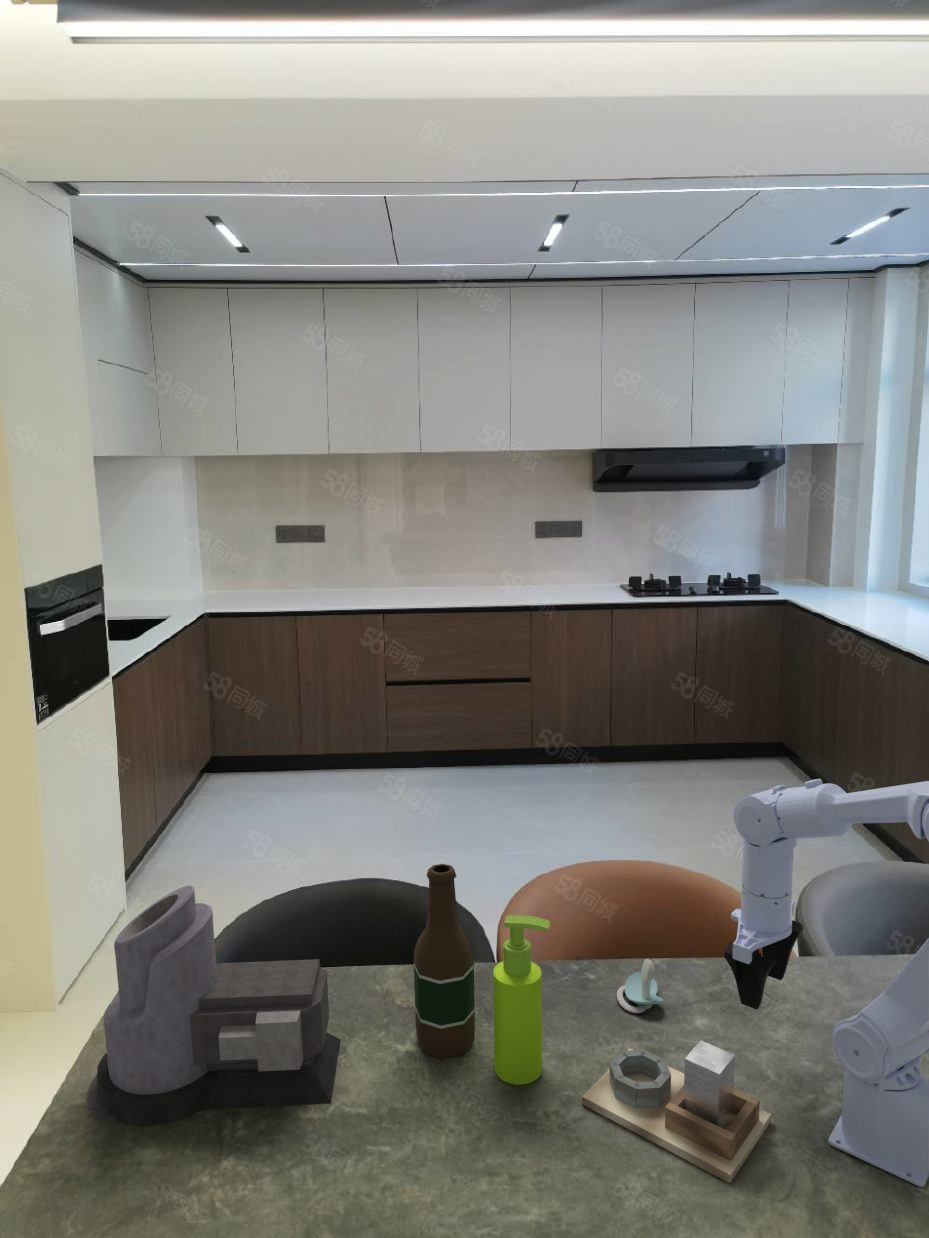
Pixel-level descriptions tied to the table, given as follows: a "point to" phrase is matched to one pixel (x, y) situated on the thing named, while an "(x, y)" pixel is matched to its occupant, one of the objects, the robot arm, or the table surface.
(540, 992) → the soap dispenser
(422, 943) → the beer bottle
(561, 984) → the table surface
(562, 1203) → the table surface
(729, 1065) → the square peg
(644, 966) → the pacifier
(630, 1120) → the socket board
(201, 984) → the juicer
